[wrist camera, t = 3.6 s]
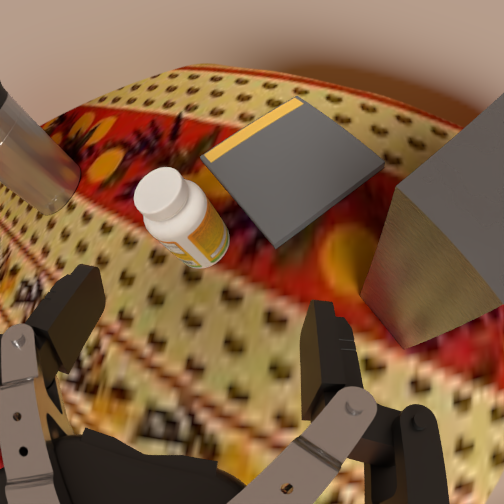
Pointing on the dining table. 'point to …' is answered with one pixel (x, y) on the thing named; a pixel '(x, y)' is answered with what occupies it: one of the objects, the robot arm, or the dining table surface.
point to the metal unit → (444, 238)
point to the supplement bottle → (181, 218)
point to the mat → (290, 168)
